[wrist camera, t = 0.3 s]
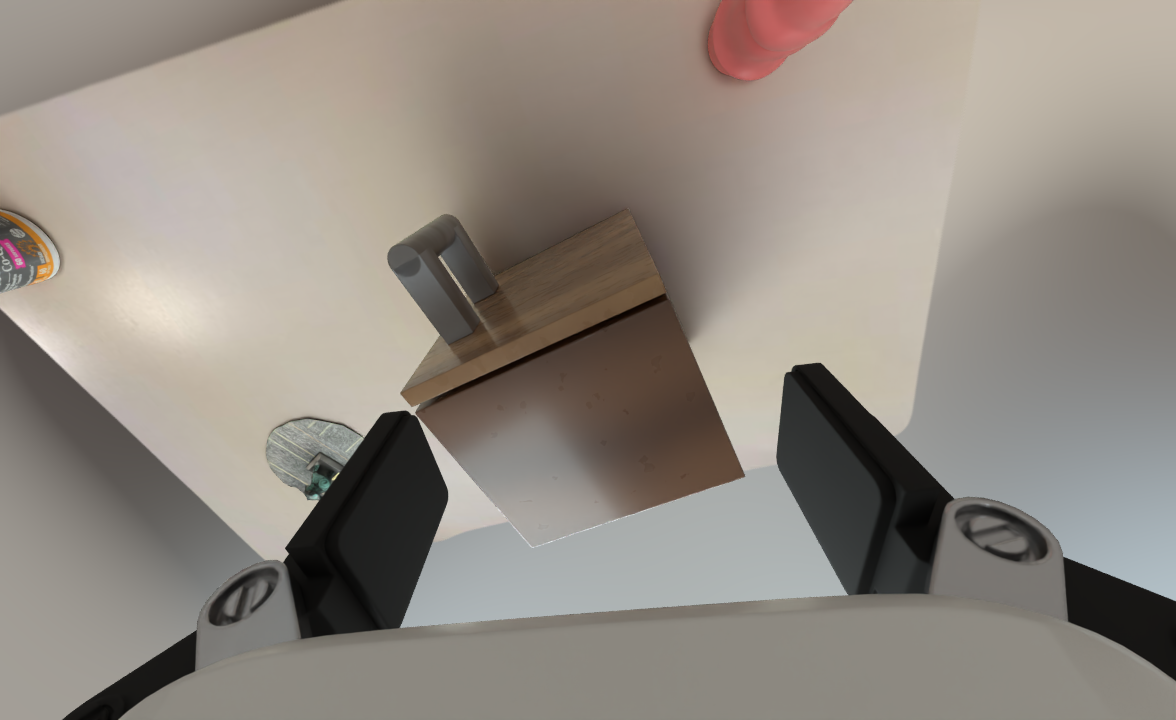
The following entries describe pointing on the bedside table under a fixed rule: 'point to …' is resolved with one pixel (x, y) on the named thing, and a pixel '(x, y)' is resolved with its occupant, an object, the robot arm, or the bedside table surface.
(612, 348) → the cabinet
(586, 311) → the door
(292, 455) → the sculpture
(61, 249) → the bedside table surface
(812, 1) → the figurine
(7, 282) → the pill bottle
